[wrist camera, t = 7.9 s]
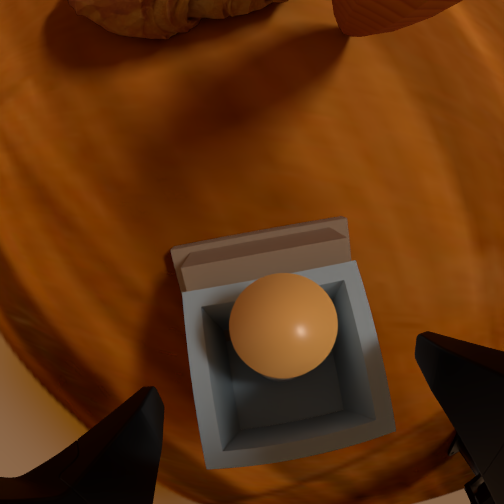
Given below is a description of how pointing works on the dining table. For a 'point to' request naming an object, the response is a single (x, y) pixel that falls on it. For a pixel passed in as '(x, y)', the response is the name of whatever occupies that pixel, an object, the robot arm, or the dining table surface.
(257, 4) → the croissant
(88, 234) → the dining table surface
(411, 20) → the carrot
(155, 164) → the dining table surface
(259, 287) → the orange-topped white peg
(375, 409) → the leaning socket
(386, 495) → the dining table surface
